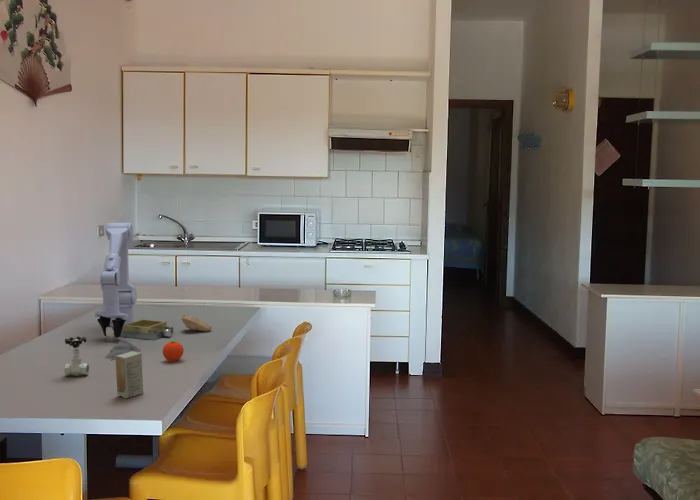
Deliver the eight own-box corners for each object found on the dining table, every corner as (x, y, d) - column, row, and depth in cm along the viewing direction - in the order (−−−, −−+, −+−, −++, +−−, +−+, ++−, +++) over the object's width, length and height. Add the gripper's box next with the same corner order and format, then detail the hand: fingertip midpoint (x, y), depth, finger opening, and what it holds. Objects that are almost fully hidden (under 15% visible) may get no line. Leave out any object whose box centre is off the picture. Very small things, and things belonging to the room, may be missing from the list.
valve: (69, 372, 220) (68, 336, 219) (90, 372, 221) (89, 336, 219) (63, 379, 214) (61, 341, 212) (84, 378, 214) (83, 341, 213)
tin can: (103, 340, 261) (102, 324, 261) (111, 338, 266) (111, 322, 265) (113, 342, 260) (112, 325, 259) (121, 339, 264) (120, 323, 263)
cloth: (126, 363, 234) (125, 357, 233) (87, 362, 235) (87, 355, 235) (154, 344, 259) (154, 338, 259) (119, 343, 261) (119, 337, 260)
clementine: (167, 357, 239) (166, 337, 238) (187, 357, 239) (186, 337, 238) (160, 363, 231) (159, 343, 230) (180, 364, 231) (180, 343, 230)
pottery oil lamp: (208, 334, 273) (208, 316, 272) (179, 333, 273) (178, 316, 272) (213, 329, 281) (213, 312, 281) (185, 328, 282) (184, 312, 281)
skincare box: (134, 390, 203) (133, 350, 201) (144, 393, 200) (142, 352, 199) (116, 396, 197) (114, 355, 196) (125, 399, 195) (124, 357, 194)
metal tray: (116, 335, 269) (116, 324, 269) (136, 329, 280) (136, 318, 280) (161, 340, 262) (160, 329, 261) (179, 333, 273) (179, 322, 272)
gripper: (88, 302, 260) (89, 337, 261) (119, 304, 255) (120, 340, 256) (101, 298, 266) (102, 333, 268) (131, 301, 261) (132, 336, 263)
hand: (112, 336), depth 263 cm, fingers closed on tin can, 5 cm apart
